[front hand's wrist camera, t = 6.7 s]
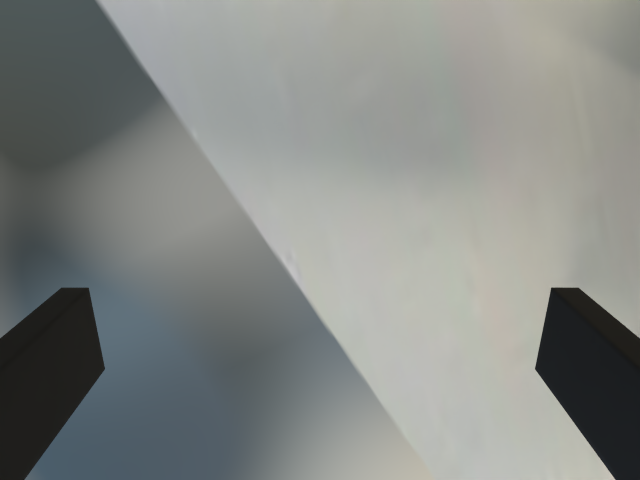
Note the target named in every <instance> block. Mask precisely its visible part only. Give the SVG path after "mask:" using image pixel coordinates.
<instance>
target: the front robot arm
mask: <svg viewBox="0 0 640 480" xmlns="http://www.w3.org/2000/svg"><path fill="white" fill-rule="evenodd" d="M104 369H105V367H104V362H103V357H102V352H101V347H100V342H99V337H98V332H97V327H96V322H95V317H94V312H93V307H92V302H91V297H90V292H89V288H61V289H59V290H58V291H57V292H56V293H55V294H53V295H52V296H51V297H50V298H49V299H47V300H46V301H45V302H44V303H43V304H41V305H40V306H39V307H38V308H37V309H35V310H34V311H33V312H32V313H31V314H29V315H28V316H27V317H26V318H24V319H23V320H22V321H21V322H20V323H18V324H17V325H16V326H15V327H14V328H12V329H11V330H10V331H9V332H8V333H6V334H5V335H4V336H3V337H1V338H0V480H24V479H25V478H26V477H27V475H28V474H29V473H30V471H31V470H32V468H33V467H34V466H35V464H36V463H37V462H38V460H39V459H40V458H41V456H42V455H43V453H44V452H45V451H46V449H47V448H48V447H49V445H50V444H51V442H52V441H53V440H54V438H55V437H56V436H57V434H58V433H59V431H60V430H61V429H62V427H63V426H64V425H65V423H66V422H67V420H68V419H69V418H70V416H71V415H72V414H73V412H74V411H75V409H76V408H77V407H78V405H79V404H80V403H81V401H82V400H83V398H84V397H85V396H86V394H87V393H88V392H89V390H90V389H91V387H92V386H93V385H94V383H95V382H96V381H97V379H98V378H99V376H100V375H101V374H102V372H103V371H104ZM535 370H536V371H537V372H538V374H539V375H540V376H541V378H542V379H543V381H544V382H545V383H546V385H547V386H548V387H549V389H550V390H551V392H552V393H553V394H554V396H555V397H556V398H557V400H558V401H559V403H560V404H561V405H562V407H563V408H564V409H565V411H566V412H567V414H568V415H569V416H570V418H571V419H572V420H573V422H574V423H575V425H576V426H577V427H578V429H579V430H580V431H581V433H582V434H583V436H584V437H585V438H586V440H587V441H588V442H589V444H590V445H591V447H592V448H593V449H594V451H595V452H596V453H597V455H598V456H599V458H600V459H601V460H602V462H603V463H604V464H605V466H606V467H607V468H608V470H609V471H610V473H611V474H612V475H613V477H614V478H615V479H616V480H640V338H639V337H637V336H636V335H635V334H634V333H632V332H631V331H630V330H629V329H628V328H626V327H625V326H624V325H623V324H622V323H620V322H619V321H618V320H617V319H616V318H614V317H613V316H612V315H611V314H610V313H608V312H607V311H606V310H605V309H603V308H602V307H601V306H600V305H599V304H597V303H596V302H595V301H594V300H593V299H591V298H590V297H589V296H588V295H587V294H585V293H584V292H583V291H582V290H581V289H579V288H551V292H550V297H549V302H548V307H547V312H546V317H545V322H544V327H543V332H542V337H541V342H540V347H539V352H538V357H537V362H536V367H535Z"/></svg>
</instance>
